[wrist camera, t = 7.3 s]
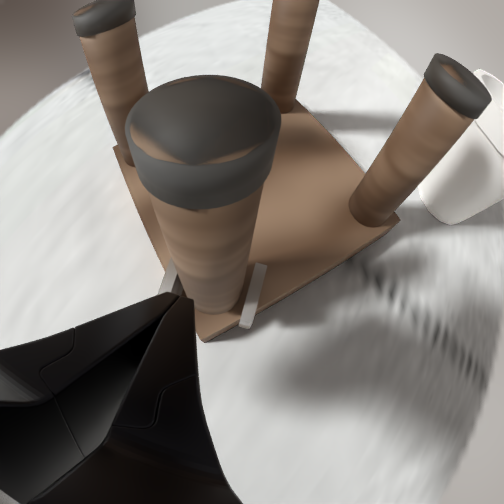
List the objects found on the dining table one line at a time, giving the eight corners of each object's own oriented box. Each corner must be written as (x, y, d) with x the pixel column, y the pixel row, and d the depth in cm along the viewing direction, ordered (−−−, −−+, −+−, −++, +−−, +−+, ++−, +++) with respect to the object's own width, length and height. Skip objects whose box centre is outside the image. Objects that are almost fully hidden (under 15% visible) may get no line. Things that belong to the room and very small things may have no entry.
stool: (391, 241, 21) (516, 117, 8) (199, 358, 17) (101, 343, 4) (278, 105, 26) (305, -31, 12) (113, 169, 22) (51, 18, 8)
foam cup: (393, 151, 25) (455, 53, 13) (455, 166, 26) (518, 92, 14) (419, 238, 22) (522, 147, 10) (482, 242, 23) (568, 177, 11)
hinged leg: (235, 323, 15) (262, 189, 5) (175, 306, 15) (95, 154, 5) (250, 267, 16) (292, 89, 6) (194, 252, 16) (166, 69, 6)
